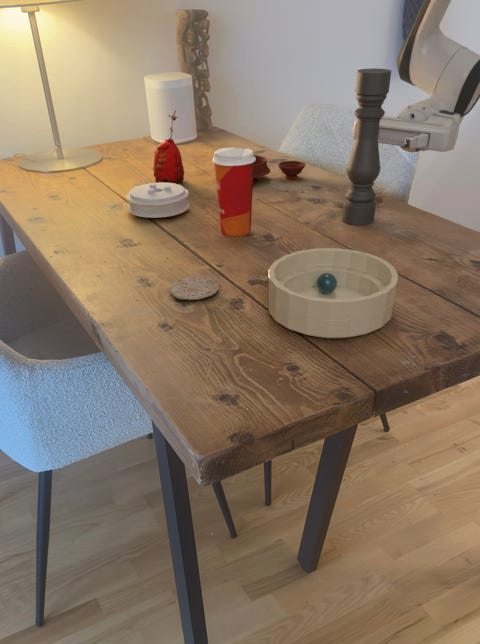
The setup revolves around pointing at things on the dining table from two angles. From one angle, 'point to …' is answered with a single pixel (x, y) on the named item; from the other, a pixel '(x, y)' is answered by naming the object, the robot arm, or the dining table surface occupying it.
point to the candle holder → (365, 146)
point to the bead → (326, 283)
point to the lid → (158, 200)
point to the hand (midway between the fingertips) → (385, 140)
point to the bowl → (338, 306)
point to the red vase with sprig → (168, 161)
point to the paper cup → (234, 189)
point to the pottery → (287, 167)
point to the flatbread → (194, 288)
